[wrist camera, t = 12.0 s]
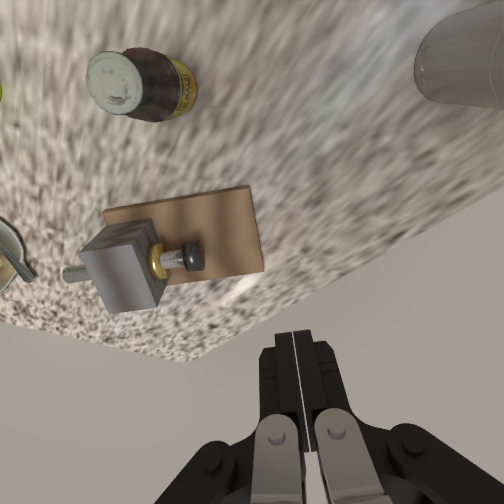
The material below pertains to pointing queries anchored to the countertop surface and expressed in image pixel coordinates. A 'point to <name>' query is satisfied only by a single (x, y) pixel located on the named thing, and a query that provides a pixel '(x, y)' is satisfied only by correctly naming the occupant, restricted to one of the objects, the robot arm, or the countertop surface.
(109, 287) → the bearing block
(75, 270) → the shaft
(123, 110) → the sauce bottle
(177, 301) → the countertop surface
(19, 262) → the salad plate
